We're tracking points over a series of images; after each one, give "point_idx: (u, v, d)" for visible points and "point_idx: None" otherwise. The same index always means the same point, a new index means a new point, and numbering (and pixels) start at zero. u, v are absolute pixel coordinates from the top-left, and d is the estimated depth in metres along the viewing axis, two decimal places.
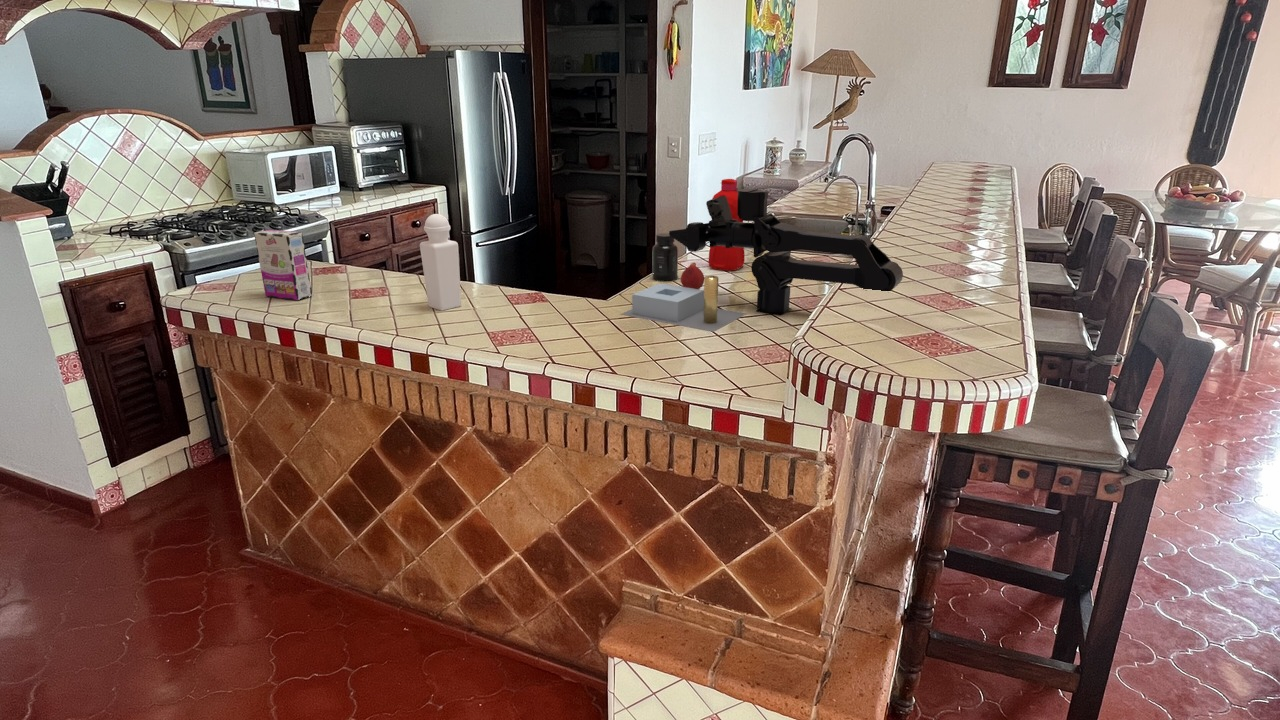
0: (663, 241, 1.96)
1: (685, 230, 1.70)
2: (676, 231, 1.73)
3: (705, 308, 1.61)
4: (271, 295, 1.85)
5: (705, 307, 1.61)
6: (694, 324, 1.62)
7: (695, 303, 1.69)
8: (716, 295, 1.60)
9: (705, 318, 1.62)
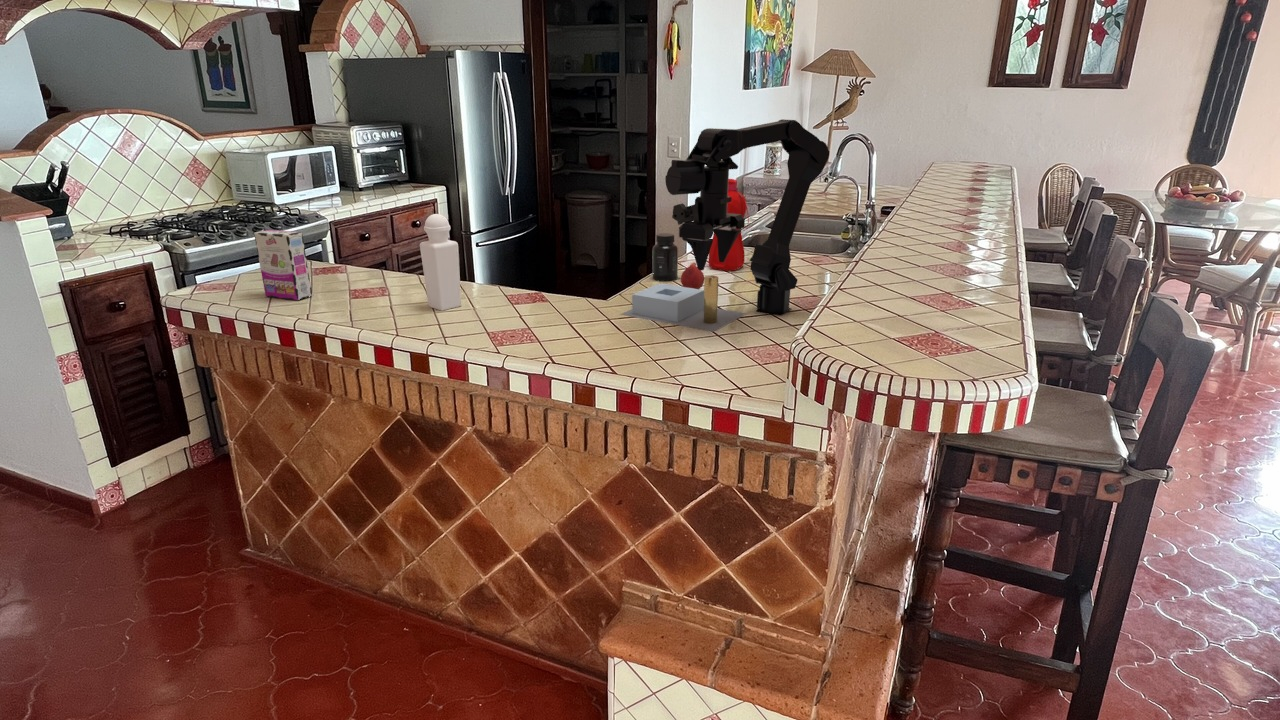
0: (663, 241, 1.96)
1: (692, 245, 1.53)
2: (696, 259, 1.54)
3: (705, 308, 1.61)
4: (271, 295, 1.85)
5: (705, 307, 1.61)
6: (694, 324, 1.62)
7: (695, 303, 1.69)
8: (716, 295, 1.60)
9: (705, 318, 1.62)
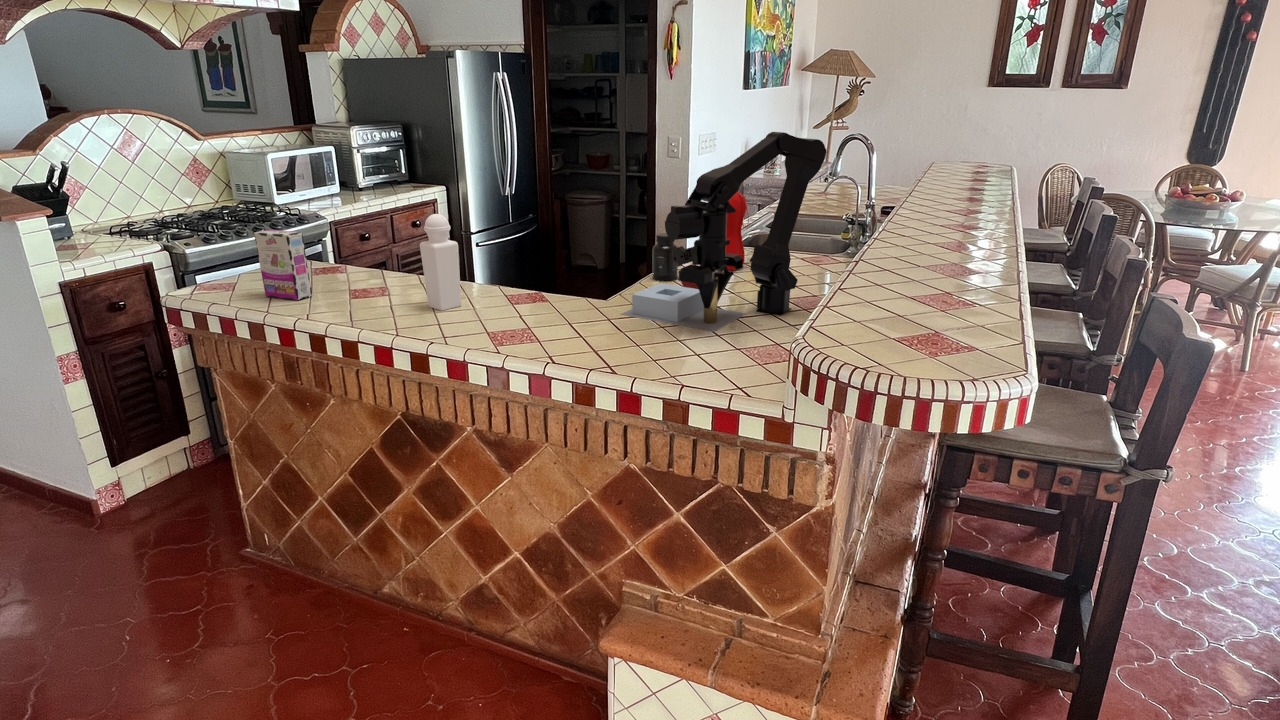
0: (663, 241, 1.96)
1: (698, 285, 1.58)
2: (702, 298, 1.60)
3: (705, 308, 1.61)
4: (271, 295, 1.85)
5: None
6: (694, 324, 1.62)
7: (695, 303, 1.69)
8: (716, 295, 1.60)
9: (705, 318, 1.62)
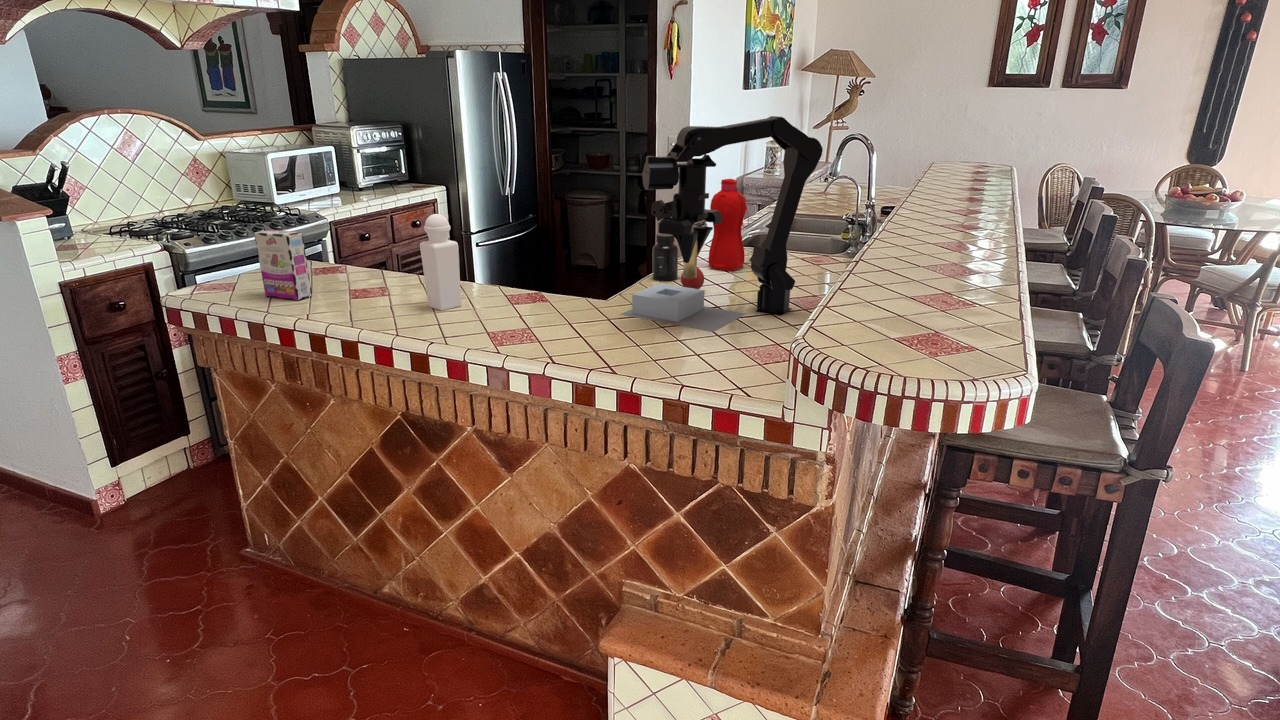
0: (663, 241, 1.96)
1: (677, 239, 1.58)
2: (681, 252, 1.60)
3: (685, 263, 1.62)
4: (271, 295, 1.85)
5: None
6: (694, 324, 1.62)
7: (695, 303, 1.69)
8: (695, 249, 1.60)
9: (685, 273, 1.62)
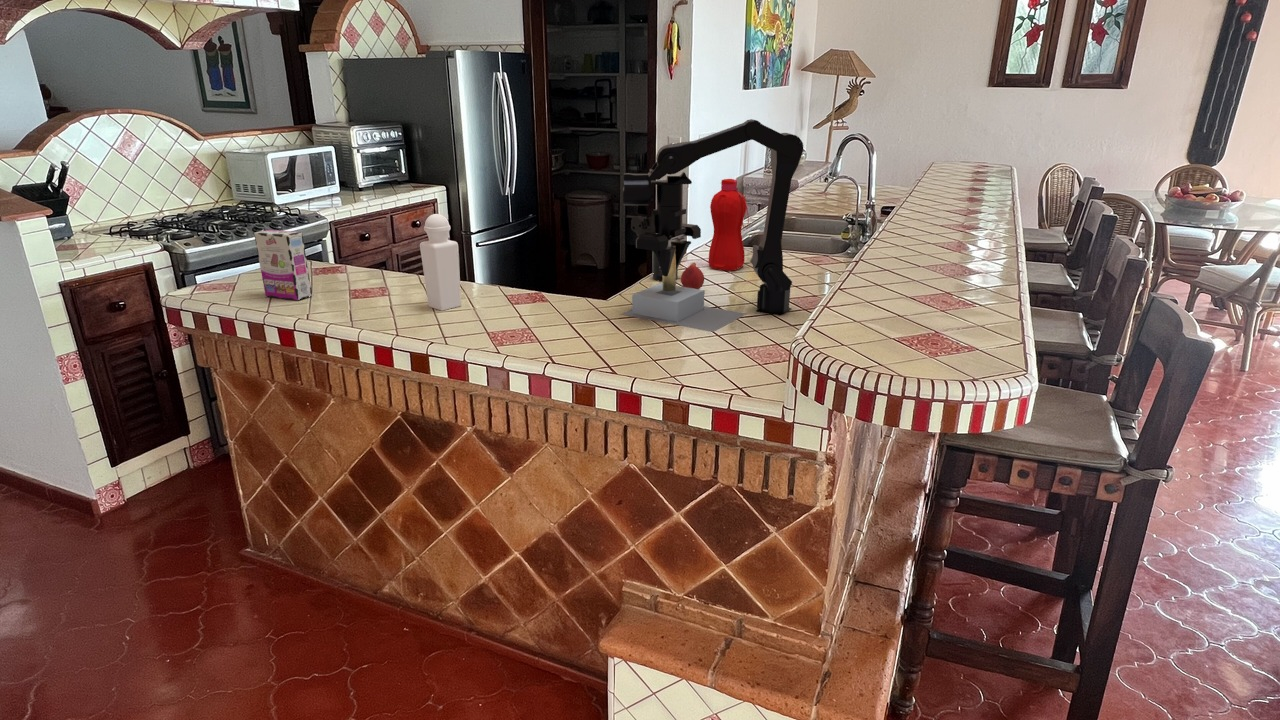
0: None
1: (656, 253, 1.64)
2: (660, 265, 1.66)
3: (664, 276, 1.67)
4: (271, 295, 1.85)
5: None
6: (694, 324, 1.62)
7: (695, 303, 1.69)
8: (674, 263, 1.66)
9: (664, 286, 1.68)
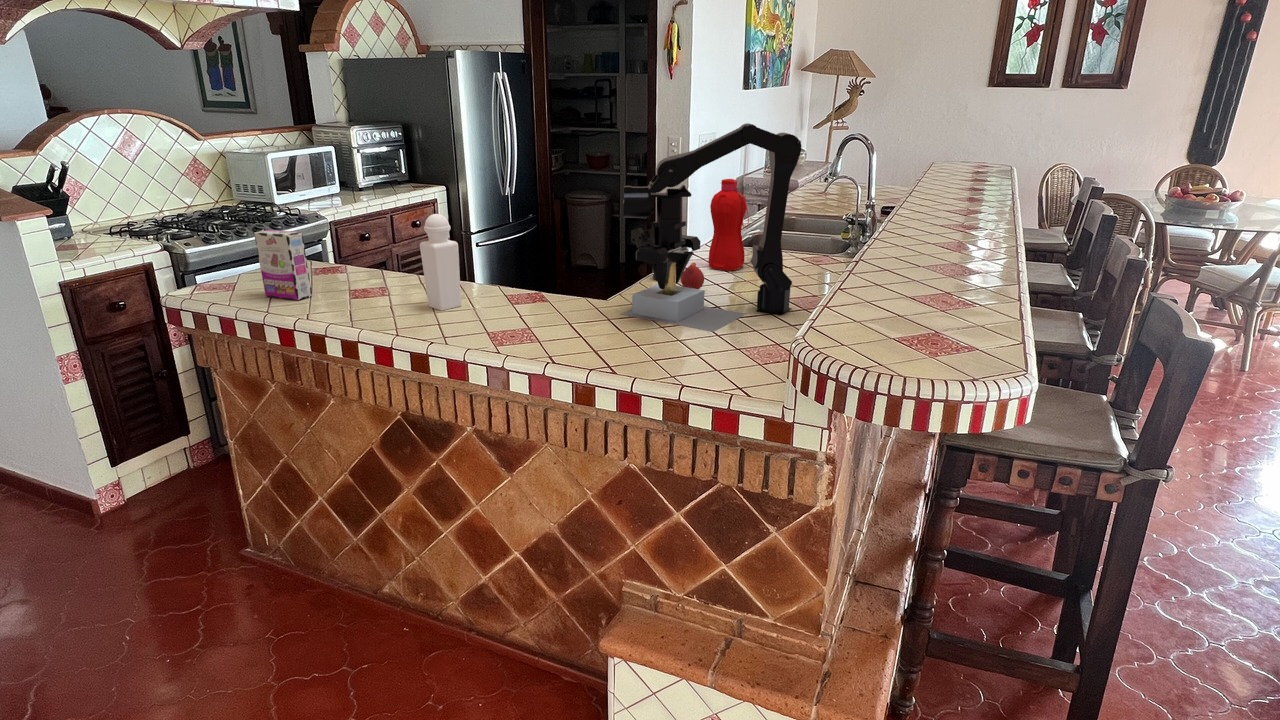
0: None
1: (653, 266, 1.64)
2: (657, 278, 1.65)
3: (663, 291, 1.69)
4: (271, 295, 1.85)
5: (663, 290, 1.69)
6: (694, 324, 1.62)
7: (695, 303, 1.69)
8: (674, 279, 1.68)
9: None
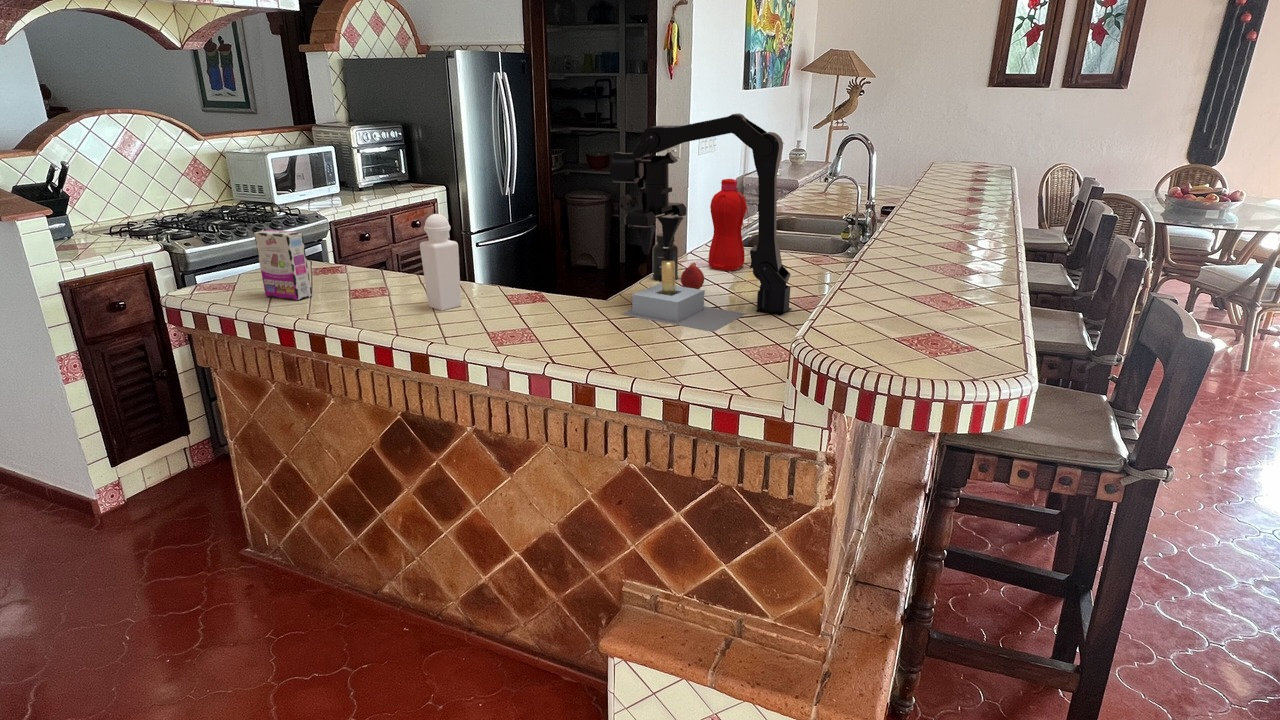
0: None
1: (637, 232, 1.69)
2: (641, 244, 1.71)
3: (663, 292, 1.69)
4: (271, 295, 1.85)
5: (663, 291, 1.69)
6: (694, 324, 1.62)
7: (695, 303, 1.69)
8: (673, 279, 1.67)
9: None
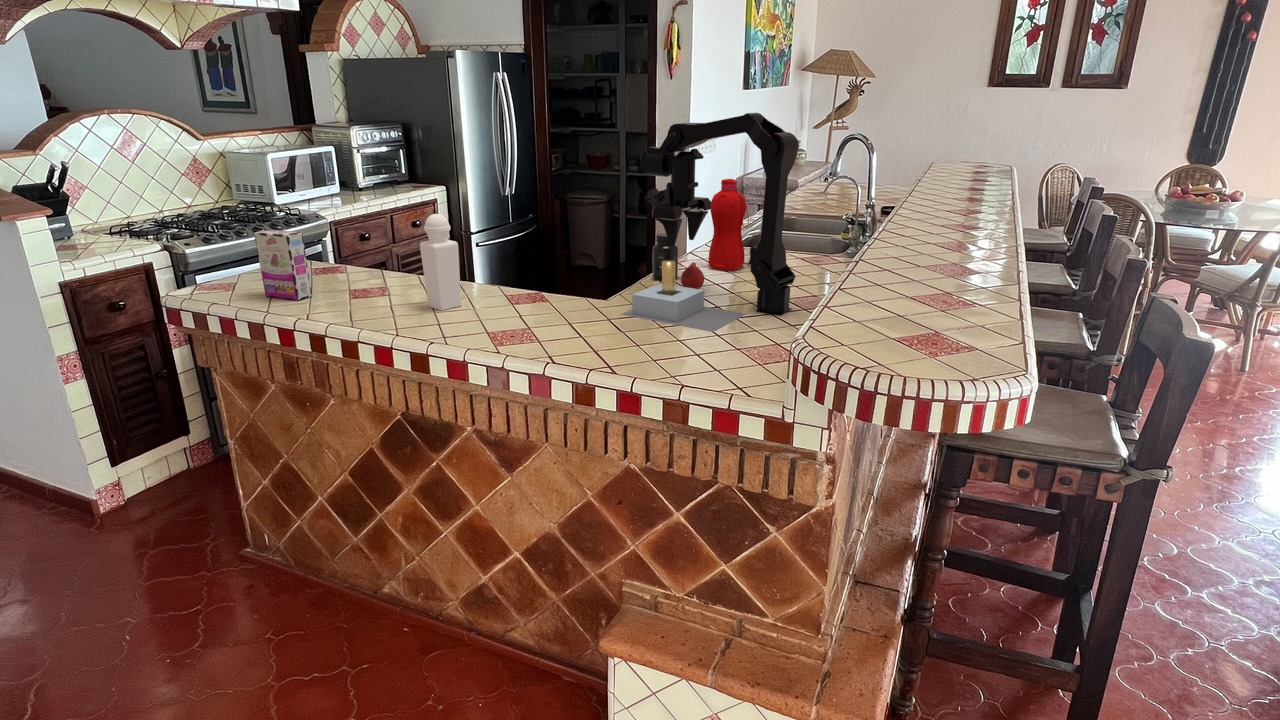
0: (663, 241, 1.96)
1: (664, 224, 1.76)
2: (668, 236, 1.78)
3: (663, 291, 1.69)
4: (271, 295, 1.85)
5: (663, 290, 1.69)
6: (694, 324, 1.62)
7: (695, 303, 1.69)
8: (673, 279, 1.68)
9: None
